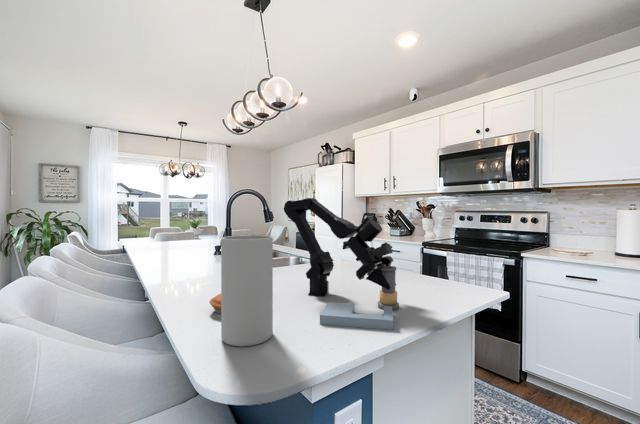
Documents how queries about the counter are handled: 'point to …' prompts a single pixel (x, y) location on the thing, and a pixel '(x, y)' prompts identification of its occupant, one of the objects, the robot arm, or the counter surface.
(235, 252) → the cylinder vase
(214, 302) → the pie
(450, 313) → the counter surface
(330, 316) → the notched board
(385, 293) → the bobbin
